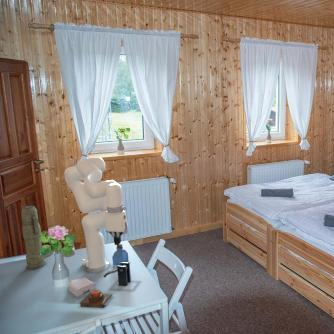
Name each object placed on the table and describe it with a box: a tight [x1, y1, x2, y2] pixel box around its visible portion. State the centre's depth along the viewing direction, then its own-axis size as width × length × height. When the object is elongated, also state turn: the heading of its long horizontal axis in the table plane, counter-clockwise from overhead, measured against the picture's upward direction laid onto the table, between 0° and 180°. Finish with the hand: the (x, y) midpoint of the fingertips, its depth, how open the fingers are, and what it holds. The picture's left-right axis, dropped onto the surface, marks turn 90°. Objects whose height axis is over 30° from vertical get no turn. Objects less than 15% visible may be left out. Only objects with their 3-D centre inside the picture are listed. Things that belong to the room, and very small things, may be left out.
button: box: [91, 289, 101, 297], centre depth 181 cm, size 4×4×2 cm
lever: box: [103, 264, 128, 278], centre depth 195 cm, size 12×5×2 cm, turn 83°
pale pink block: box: [67, 277, 96, 297], centre depth 192 cm, size 5×9×15 cm
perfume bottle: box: [111, 243, 130, 266], centre depth 218 cm, size 6×6×12 cm
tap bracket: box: [116, 261, 132, 287], centre depth 195 cm, size 12×9×12 cm
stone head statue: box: [20, 204, 46, 270], centre depth 216 cm, size 9×12×35 cm
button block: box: [79, 290, 113, 309], centre depth 181 cm, size 11×9×4 cm
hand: (117, 243), depth 192 cm, fingers closed
